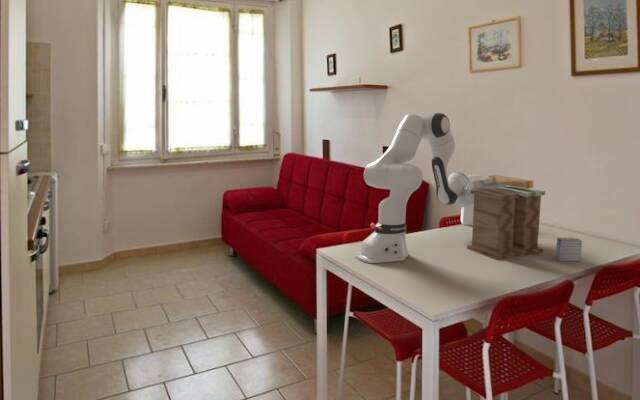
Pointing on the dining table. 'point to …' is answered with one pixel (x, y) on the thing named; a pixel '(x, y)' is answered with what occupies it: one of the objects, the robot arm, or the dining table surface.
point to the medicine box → (568, 249)
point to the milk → (468, 211)
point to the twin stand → (506, 222)
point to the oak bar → (512, 181)
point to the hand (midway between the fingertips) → (497, 178)
